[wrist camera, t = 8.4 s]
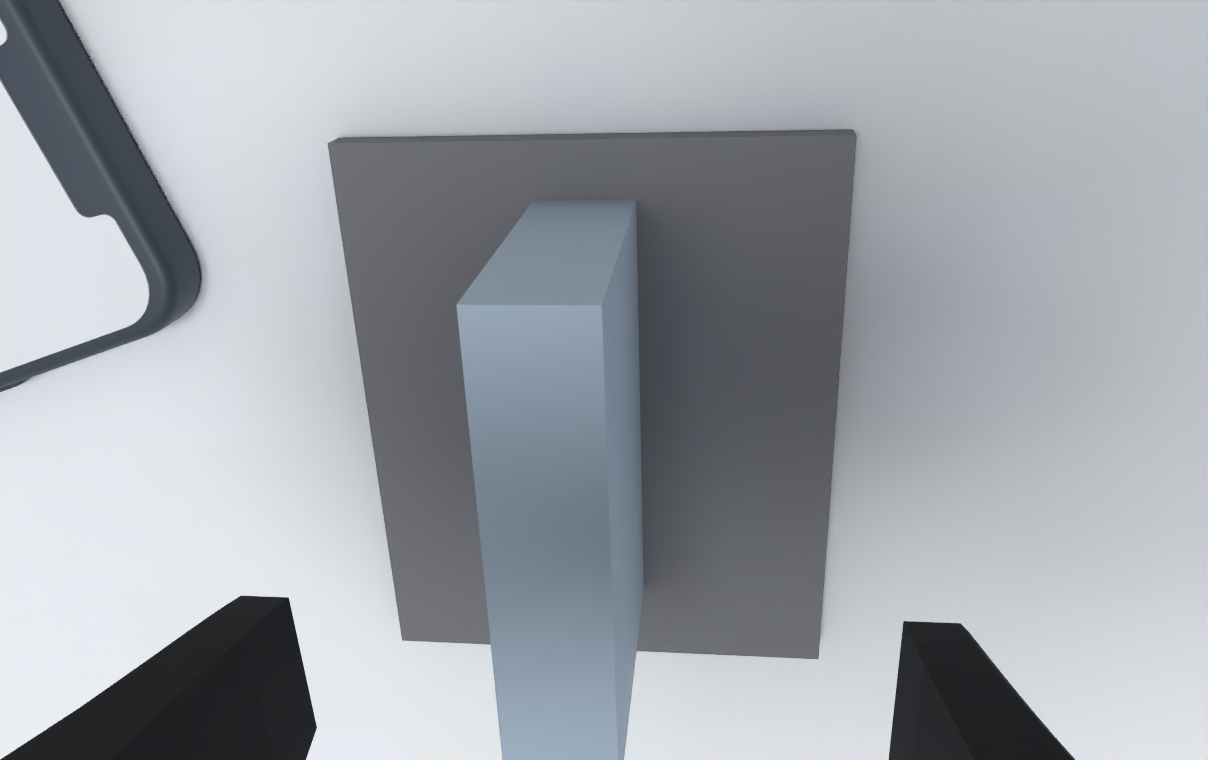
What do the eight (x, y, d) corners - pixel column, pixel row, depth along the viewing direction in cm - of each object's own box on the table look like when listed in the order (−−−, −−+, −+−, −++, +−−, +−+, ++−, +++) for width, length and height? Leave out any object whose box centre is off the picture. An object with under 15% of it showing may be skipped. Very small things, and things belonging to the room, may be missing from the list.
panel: (636, 200, 18) (601, 305, 13) (643, 586, 22) (619, 797, 16) (533, 200, 18) (456, 304, 13) (557, 584, 22) (505, 790, 17)
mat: (851, 129, 18) (855, 135, 17) (815, 642, 23) (818, 659, 22) (339, 138, 19) (327, 143, 18) (409, 624, 24) (402, 640, 23)
